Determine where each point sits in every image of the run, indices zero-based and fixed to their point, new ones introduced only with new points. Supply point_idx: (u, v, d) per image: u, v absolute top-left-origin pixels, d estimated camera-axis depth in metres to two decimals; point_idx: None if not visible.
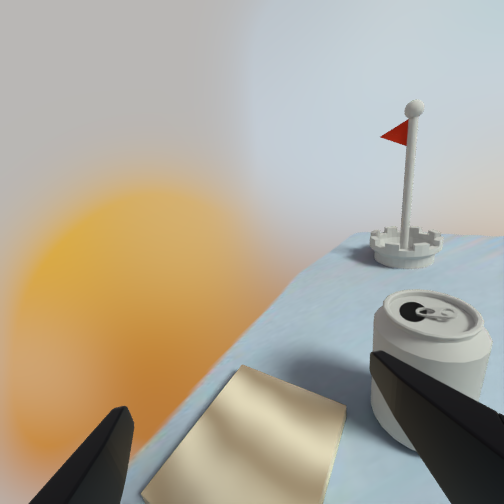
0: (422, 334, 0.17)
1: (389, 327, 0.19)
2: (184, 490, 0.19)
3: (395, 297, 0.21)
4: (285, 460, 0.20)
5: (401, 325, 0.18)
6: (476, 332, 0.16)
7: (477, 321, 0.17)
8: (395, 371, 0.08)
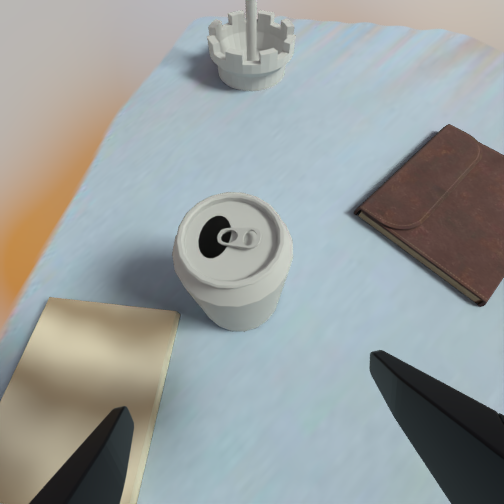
0: (215, 286, 0.13)
1: (185, 269, 0.14)
2: (10, 467, 0.18)
3: (196, 213, 0.15)
4: (116, 392, 0.20)
5: (193, 275, 0.13)
6: (273, 268, 0.13)
7: (278, 247, 0.14)
8: (395, 371, 0.08)
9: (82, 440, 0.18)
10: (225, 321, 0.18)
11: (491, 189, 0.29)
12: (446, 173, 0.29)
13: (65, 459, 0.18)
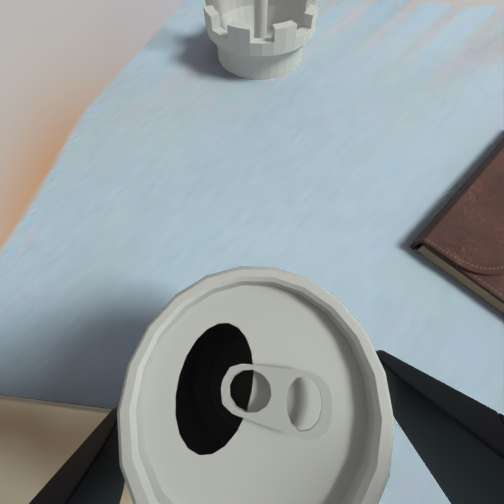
0: None
1: None
2: None
3: (173, 321, 0.07)
4: None
5: None
6: None
7: (378, 432, 0.05)
8: (395, 371, 0.08)
9: None
10: None
11: None
12: None
13: None
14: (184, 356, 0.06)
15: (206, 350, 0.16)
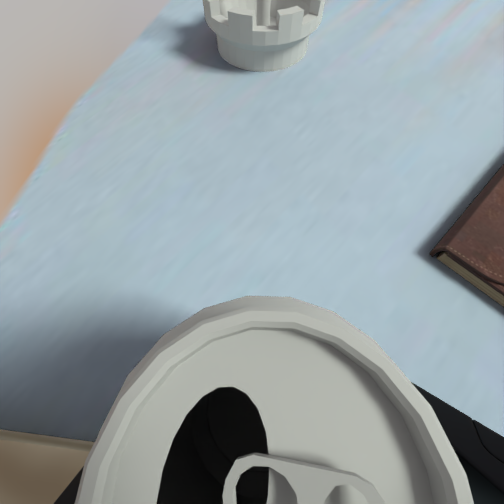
0: None
1: None
2: None
3: (154, 387, 0.05)
4: None
5: None
6: None
7: None
8: None
9: None
10: None
11: None
12: None
13: None
14: (170, 440, 0.04)
15: None
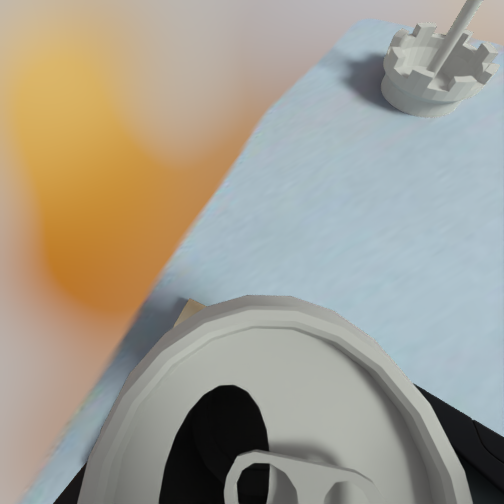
0: None
1: None
2: None
3: (157, 385, 0.05)
4: None
5: None
6: None
7: None
8: None
9: None
10: None
11: None
12: None
13: None
14: (172, 437, 0.05)
15: None
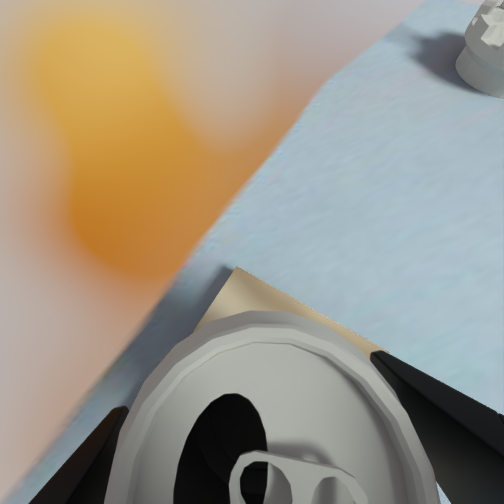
0: None
1: None
2: None
3: (170, 393, 0.05)
4: None
5: None
6: None
7: None
8: (395, 371, 0.08)
9: None
10: None
11: None
12: None
13: None
14: (184, 438, 0.05)
15: None
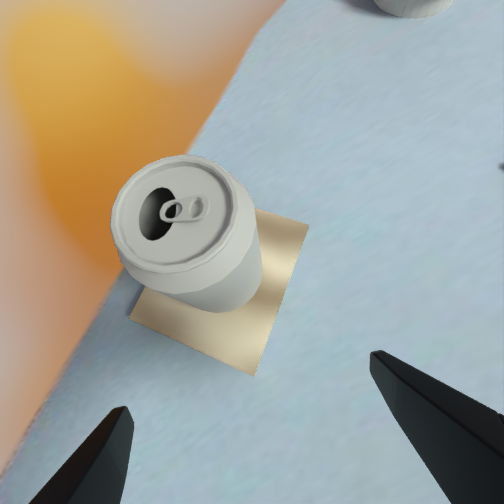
0: (161, 272, 0.11)
1: None
2: (166, 310, 0.22)
3: (132, 189, 0.12)
4: None
5: (134, 263, 0.11)
6: (228, 239, 0.11)
7: (232, 213, 0.11)
8: (395, 371, 0.08)
9: None
10: (200, 306, 0.16)
11: None
12: None
13: (208, 317, 0.21)
14: (140, 204, 0.12)
15: None
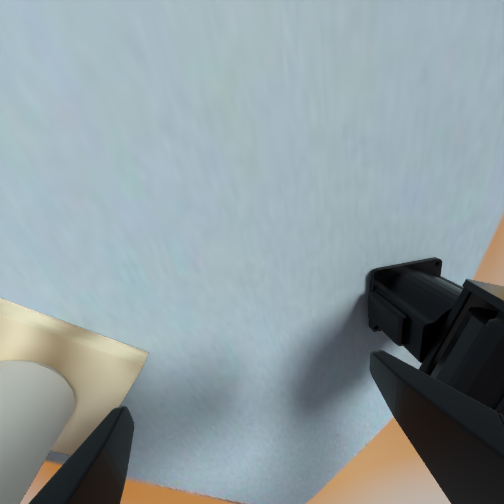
0: None
1: None
2: (79, 432, 0.22)
3: None
4: None
5: None
6: None
7: None
8: (395, 371, 0.08)
9: (73, 389, 0.20)
10: (36, 466, 0.16)
11: None
12: None
13: (84, 400, 0.21)
14: None
15: None
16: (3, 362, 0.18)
